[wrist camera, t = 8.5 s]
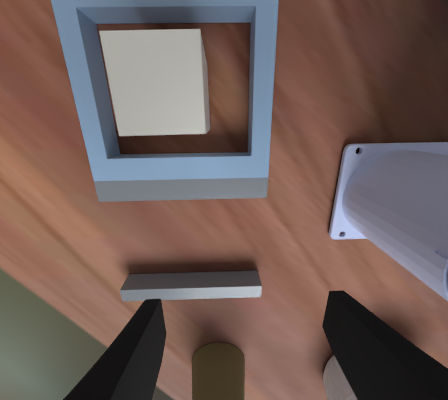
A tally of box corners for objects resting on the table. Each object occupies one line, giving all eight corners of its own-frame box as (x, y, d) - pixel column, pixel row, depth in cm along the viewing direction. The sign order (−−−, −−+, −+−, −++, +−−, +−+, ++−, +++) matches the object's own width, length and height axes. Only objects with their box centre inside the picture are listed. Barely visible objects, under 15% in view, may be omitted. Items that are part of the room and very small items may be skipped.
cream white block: (207, 66, 14) (200, 28, 8) (210, 129, 15) (205, 133, 10) (147, 67, 14) (99, 30, 8) (155, 131, 15) (119, 136, 10)
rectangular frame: (270, -3, 13) (279, -24, 11) (257, 280, 20) (261, 296, 18) (71, -1, 13) (45, -23, 11) (131, 284, 20) (122, 301, 18)
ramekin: (423, 333, 23) (477, 389, 19) (390, 394, 27) (428, 455, 22) (324, 331, 23) (354, 389, 18) (306, 394, 27) (326, 456, 22)
